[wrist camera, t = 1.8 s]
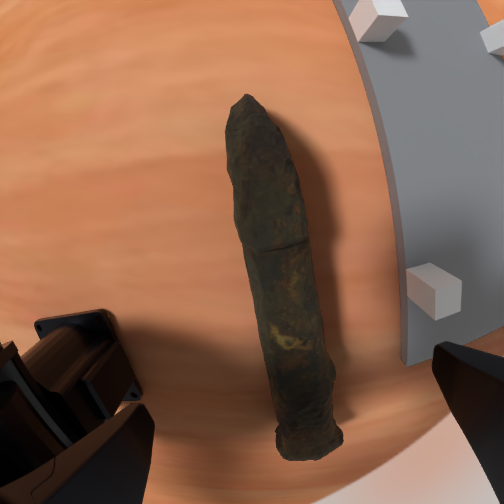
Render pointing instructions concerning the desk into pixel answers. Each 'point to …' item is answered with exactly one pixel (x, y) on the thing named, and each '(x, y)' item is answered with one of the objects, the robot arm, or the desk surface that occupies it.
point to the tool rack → (438, 159)
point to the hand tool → (281, 282)
